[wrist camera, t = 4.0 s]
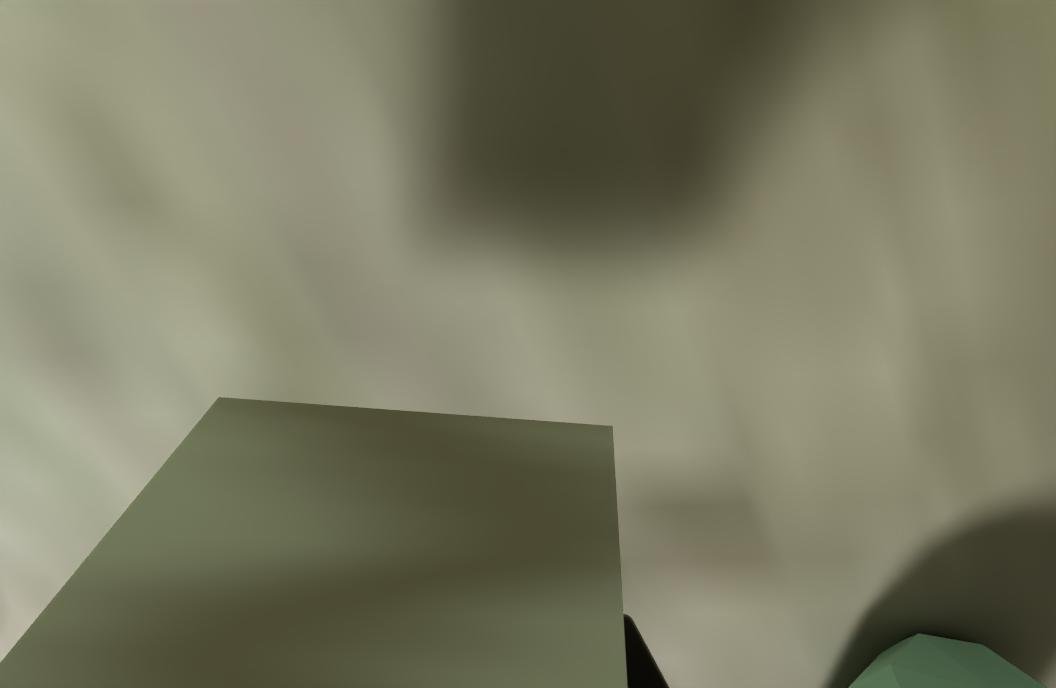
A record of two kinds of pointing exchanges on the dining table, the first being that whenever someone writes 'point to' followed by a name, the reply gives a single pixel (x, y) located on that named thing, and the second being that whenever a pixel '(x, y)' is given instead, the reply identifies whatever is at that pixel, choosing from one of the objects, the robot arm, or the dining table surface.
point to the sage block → (350, 560)
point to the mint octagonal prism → (941, 666)
